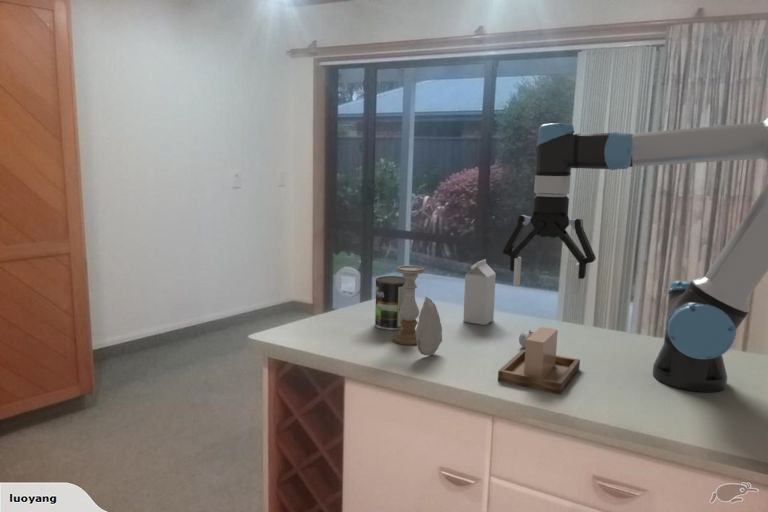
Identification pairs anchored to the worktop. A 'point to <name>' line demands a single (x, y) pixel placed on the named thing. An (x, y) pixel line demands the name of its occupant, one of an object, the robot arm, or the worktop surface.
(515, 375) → the tray
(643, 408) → the worktop surface
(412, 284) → the candle holder
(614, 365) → the worktop surface
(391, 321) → the coffee can
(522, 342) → the garlic
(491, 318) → the milk carton
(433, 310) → the stone tool
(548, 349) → the tan rectangular block
